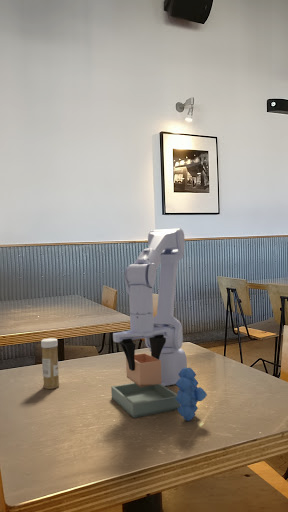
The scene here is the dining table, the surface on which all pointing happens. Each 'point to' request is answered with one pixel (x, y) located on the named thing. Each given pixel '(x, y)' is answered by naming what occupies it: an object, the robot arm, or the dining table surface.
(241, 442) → the dining table surface
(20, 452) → the dining table surface
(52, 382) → the sprinkles bottle
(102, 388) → the dining table surface
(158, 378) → the small crate
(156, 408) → the base crate
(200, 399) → the grapes
